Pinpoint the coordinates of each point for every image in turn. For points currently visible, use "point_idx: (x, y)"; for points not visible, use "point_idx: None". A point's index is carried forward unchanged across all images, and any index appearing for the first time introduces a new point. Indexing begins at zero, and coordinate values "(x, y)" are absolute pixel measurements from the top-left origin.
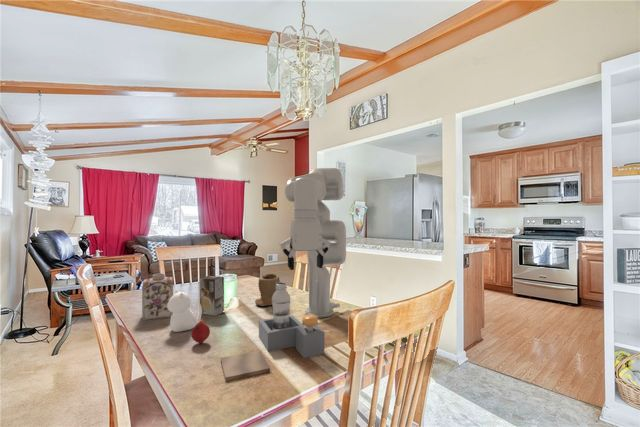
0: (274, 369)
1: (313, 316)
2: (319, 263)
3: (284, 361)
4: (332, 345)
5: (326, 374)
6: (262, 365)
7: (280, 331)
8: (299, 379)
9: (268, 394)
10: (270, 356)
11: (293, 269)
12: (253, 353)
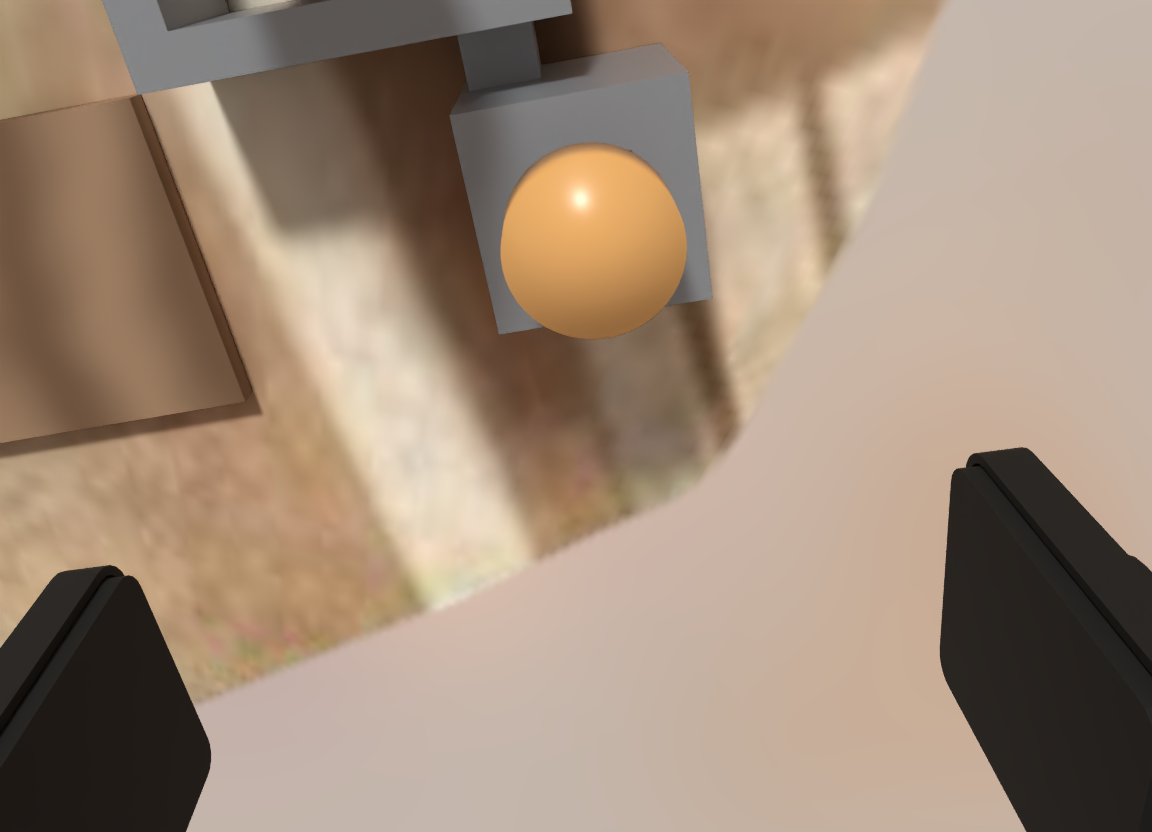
0: (282, 369)
1: (639, 241)
2: (989, 722)
3: (353, 277)
4: (809, 88)
5: (609, 492)
6: (187, 358)
7: (279, 67)
8: (438, 507)
9: (262, 593)
10: (237, 167)
11: (199, 756)
12: (76, 144)
